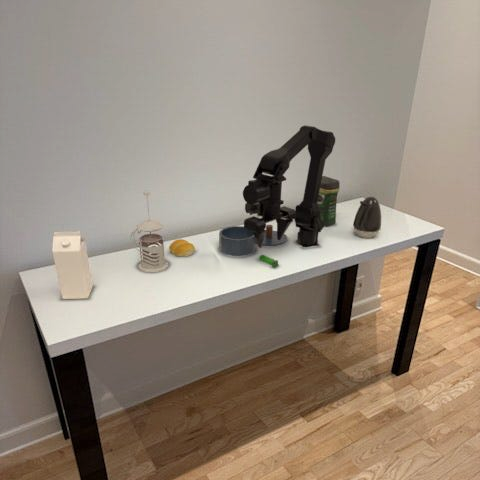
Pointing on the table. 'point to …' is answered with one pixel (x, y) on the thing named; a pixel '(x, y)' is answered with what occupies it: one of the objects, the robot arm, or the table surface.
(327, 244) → the table surface
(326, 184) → the coffee jar
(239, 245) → the pot
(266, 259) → the zucchini
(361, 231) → the dark grey rounded figure
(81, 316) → the table surface
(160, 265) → the french press
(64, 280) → the milk carton
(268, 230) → the pot lid
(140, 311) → the table surface
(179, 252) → the bread roll
